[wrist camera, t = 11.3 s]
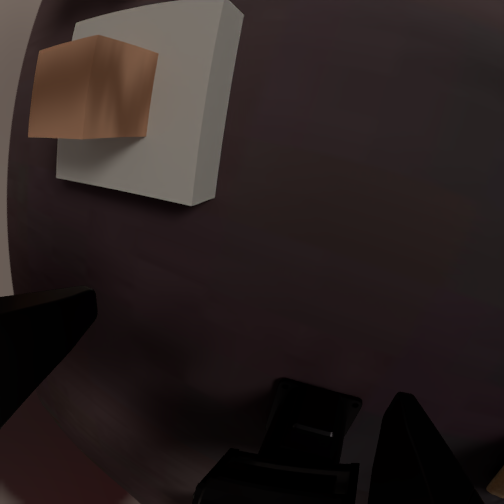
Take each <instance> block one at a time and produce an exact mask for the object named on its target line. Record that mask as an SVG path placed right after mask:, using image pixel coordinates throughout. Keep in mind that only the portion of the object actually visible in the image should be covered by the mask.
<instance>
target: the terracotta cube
mask: <svg viewBox="0 0 504 504" xmlns="http://www.w3.org/2000/svg"><path fill="white" fill-rule="evenodd" d="M158 55H159V53H156V52H153V51H150V50H147V49H144V48H141V47H138V46H135V45H132V44H129V43H125V42H122V41H119V40H116V39H112V38H109V37H105V36H101V35H94V36H90V37H86V38H82V39H78V40H74V41H70V42H67V43H63V44H60V45H56V46H53V47H50V48H47V49H44V50H41V51H39V56H38V61H37V66H36V72H35V78H34V85H33V92H32V100H31V109H30V120H29V133H28V137H40V138H65V139H96V138H115V137H146V134H147V126H148V118H149V110H150V103H151V96H152V90H153V83H154V77H155V71H156V66H157V60H158Z"/></svg>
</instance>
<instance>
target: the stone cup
mask: <svg viewBox="0 0 504 504" xmlns="http://www.w3.org/2000/svg"><path fill="white" fill-rule="evenodd" d="M486 489H487V491H488V492H489V493H491V494H492V495H497V496H499V497H501V498H504V465H503V467H502V468H501V469H500V470H499V472H498V473H497V474H496V476H495V477H494V478H493V479H492V480H491V482H490V483H489V484H488V486H487V488H486Z"/></svg>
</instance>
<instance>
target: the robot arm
mask: <svg viewBox="0 0 504 504" xmlns="http://www.w3.org/2000/svg"><path fill="white" fill-rule="evenodd" d="M96 317H97V302H96V293H95V291H94V290H93V289H91V288H89V287H87V286H77V287H70V288H63V289H55V290H48V291H41V292H34V293H26V294H19V295H12V296H4V297H0V429H1V428H2V427H3V425H4V424H5V423H6V422H7V421H8V419H9V418H10V417H11V416H12V415H13V414H14V413H15V411H16V410H17V409H18V408H19V407H20V406H21V405H22V403H23V402H24V401H25V400H26V399H27V398H28V397H29V396H30V394H31V393H32V392H33V391H34V390H35V389H36V388H37V387H38V386H39V384H40V383H41V382H42V381H43V380H44V379H45V378H46V377H47V376H48V375H49V374H50V373H51V371H52V370H53V369H54V368H55V367H56V366H57V365H58V364H59V363H60V362H61V361H62V360H63V359H64V358H65V357H66V355H67V354H68V353H69V352H70V351H71V350H72V348H73V347H74V346H75V345H76V343H77V342H78V341H79V339H80V338H81V337H82V336H83V334H84V333H85V332H86V331H87V329H88V328H89V327H90V326H91V324H92V323H93V322H94V321H95V319H96ZM284 384H286V385H288V386H285V385H284ZM354 403H357V404H354ZM361 407H362V400H361V399H360V398H358V397H353V396H349V395H345V394H341V393H337V392H333V391H330V390H326V389H322V388H318V387H315V386H311V385H307V384H304V383H300V382H297V381H294V380H290V379H286V378H285V379H282V380H281V381H280V382H279V385H278V388H277V392H276V395H275V398H274V401H273V404H272V408H271V411H270V414H269V417H268V420H267V423H266V426H265V429H266V431H267V434H266V436H265V438H264V441H263V443H262V446H261V448H260V450H259V453H258V454H254V453H248V452H243V451H239V449H234V448H230V449H229V450H228V452H227V453H226V454H225V455H224V456H223V457H222V458H221V459H220V460H219V462H218V463H217V464H216V465H215V466H214V467H213V468H212V470H211V471H210V472H209V473H208V474H207V475H206V476H205V477H204V478H203V479H202V481H201V482H200V483H199V484H198V485H197V487H196V491H195V492H194V494H193V502H192V504H355V498H356V490H357V482H358V473H359V463H351V464H339V462H340V457H341V451H342V445H343V439H344V436H345V434H346V433H347V431H348V429H349V428H350V426H351V424H352V423H353V421H354V419H355V418H356V416H357V414H358V412H359V411H360V409H361ZM368 504H484V502H483V500H482V499H481V497H480V496H479V494H478V492H477V491H476V489H474V486H473V484H472V483H471V481H470V480H469V478H468V476H467V475H466V473H465V472H464V470H463V468H462V467H461V465H460V464H459V462H458V461H457V459H456V458H455V456H454V454H453V453H452V451H451V450H450V448H449V447H448V445H447V444H446V442H445V441H444V439H443V438H442V436H441V435H440V433H439V432H438V430H437V429H436V427H435V426H434V424H433V423H432V421H431V420H430V418H429V417H428V415H427V414H426V412H425V411H424V409H423V408H422V407H421V405H420V404H419V402H418V401H417V399H416V398H415V396H414V395H412V394H409V393H404V392H398V393H397V394H396V395H395V397H394V399H393V400H392V402H391V404H390V405H389V407H388V408H387V410H386V412H385V414H384V416H383V419H382V424H381V429H380V435H379V440H378V445H377V449H376V454H375V459H374V463H373V468H372V475H371V483H370V491H369V498H368Z"/></svg>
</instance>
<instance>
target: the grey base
mask: <svg viewBox="0 0 504 504" xmlns="http://www.w3.org/2000/svg"><path fill="white" fill-rule="evenodd" d="M243 17H244V14H243V13H242V12H241V11H240V10H238V9H237V8H236V7H235V6H234V5H233V4H232V3H231V2H230V1H229V0H179V1H171V2H164V3H158V4H152V5H146V6H141V7H136V8H131V9H126V10H122V11H117V12H113V13H109V14H105V15H101V16H98V17H94V18H90V19H87V20H84V21H80V22H77V23H76V25H75V29H74V33H73V38H72V41H74V40H78V39H82V38H86V37H90V36H94V35H101V36H105V37H109V38H112V39H116V40H119V41H122V42H125V43H129V44H132V45H135V46H138V47H141V48H144V49H147V50H150V51H153V52H156V53H159V55H158V60H157V66H156V71H155V77H154V83H153V90H152V96H151V103H150V110H149V118H148V126H147V134H146V137H115V138H96V139H65V138H58V146H57V169H56V178H60V179H65V180H70V181H75V182H80V183H85V184H90V185H95V186H100V187H105V188H110V189H115V190H119V191H124V192H129V193H134V194H138V195H143V196H148V197H152V198H157V199H161V200H166V201H170V202H175V203H179V204H184V205H188V206H194V205H196V204H199V203H201V202H204V201H207V200H209V199H212V198H215V191H216V184H217V176H218V169H219V162H220V155H221V148H222V141H223V134H224V127H225V121H226V114H227V108H228V102H229V95H230V89H231V83H232V77H233V72H234V66H235V60H236V54H237V49H238V43H239V38H240V33H241V27H242V22H243Z"/></svg>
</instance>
